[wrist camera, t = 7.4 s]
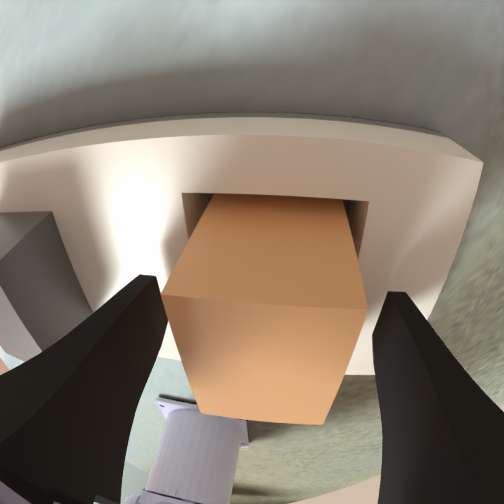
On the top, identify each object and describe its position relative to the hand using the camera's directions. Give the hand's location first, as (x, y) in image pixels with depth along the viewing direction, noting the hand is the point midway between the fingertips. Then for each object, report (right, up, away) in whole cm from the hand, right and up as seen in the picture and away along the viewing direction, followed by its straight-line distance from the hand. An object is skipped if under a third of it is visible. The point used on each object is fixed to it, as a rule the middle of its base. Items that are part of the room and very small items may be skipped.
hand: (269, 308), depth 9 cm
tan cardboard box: (0, +2, +3) cm, 3 cm away
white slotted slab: (-4, +3, +4) cm, 7 cm away
